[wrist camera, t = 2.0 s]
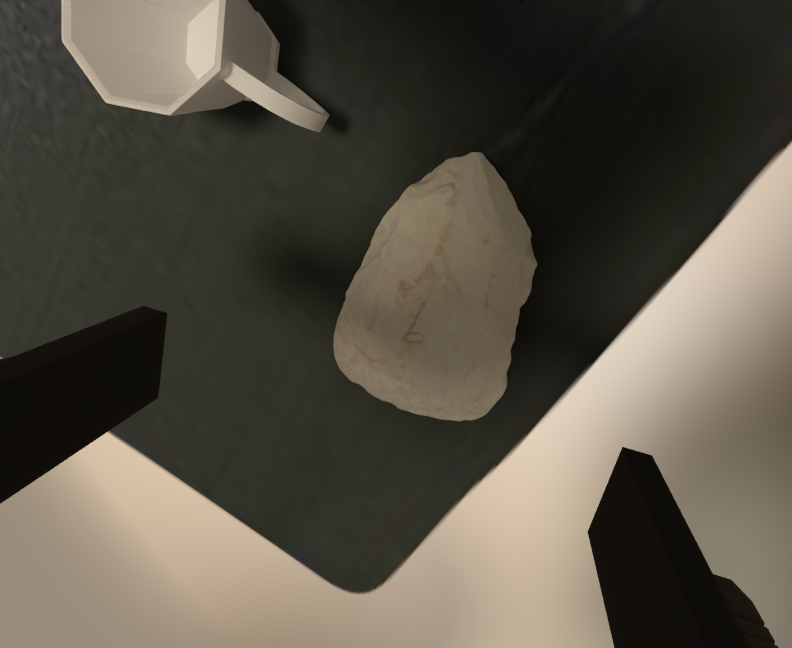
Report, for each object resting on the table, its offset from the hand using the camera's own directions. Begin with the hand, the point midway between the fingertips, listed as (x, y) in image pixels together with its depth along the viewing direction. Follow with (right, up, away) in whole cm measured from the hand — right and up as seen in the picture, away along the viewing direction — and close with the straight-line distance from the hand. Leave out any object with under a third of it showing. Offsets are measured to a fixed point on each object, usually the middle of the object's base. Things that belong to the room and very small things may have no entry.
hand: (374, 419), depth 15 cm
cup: (-6, +15, +12) cm, 21 cm away
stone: (+3, +5, +14) cm, 15 cm away
